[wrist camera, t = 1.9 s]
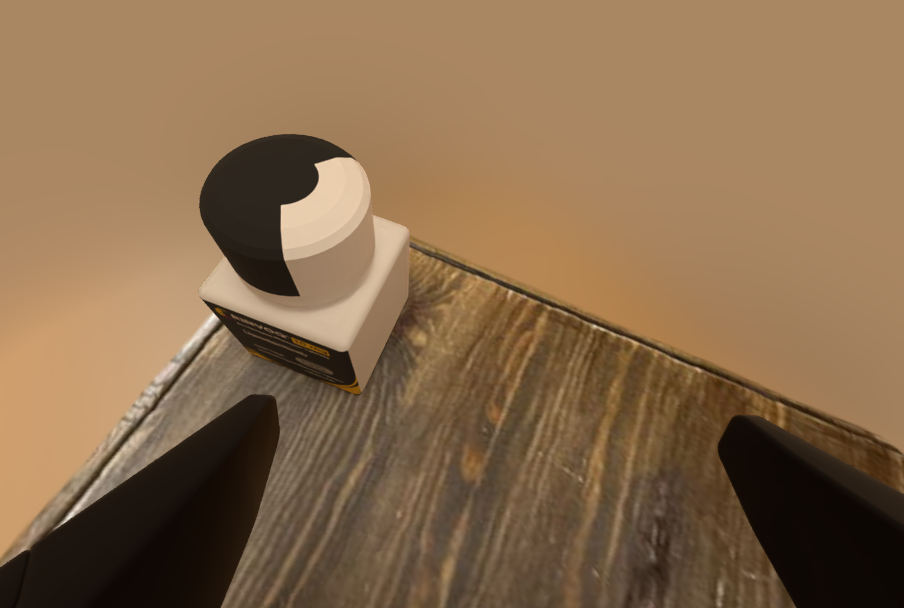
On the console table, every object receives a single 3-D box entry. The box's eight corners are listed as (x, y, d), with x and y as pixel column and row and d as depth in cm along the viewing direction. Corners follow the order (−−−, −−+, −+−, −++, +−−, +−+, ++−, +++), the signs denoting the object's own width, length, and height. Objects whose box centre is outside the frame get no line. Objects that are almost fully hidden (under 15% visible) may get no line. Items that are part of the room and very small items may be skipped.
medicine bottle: (247, 353, 24) (122, 216, 13) (309, 258, 27) (249, 90, 17) (361, 398, 23) (326, 292, 13) (410, 295, 27) (414, 146, 16)
